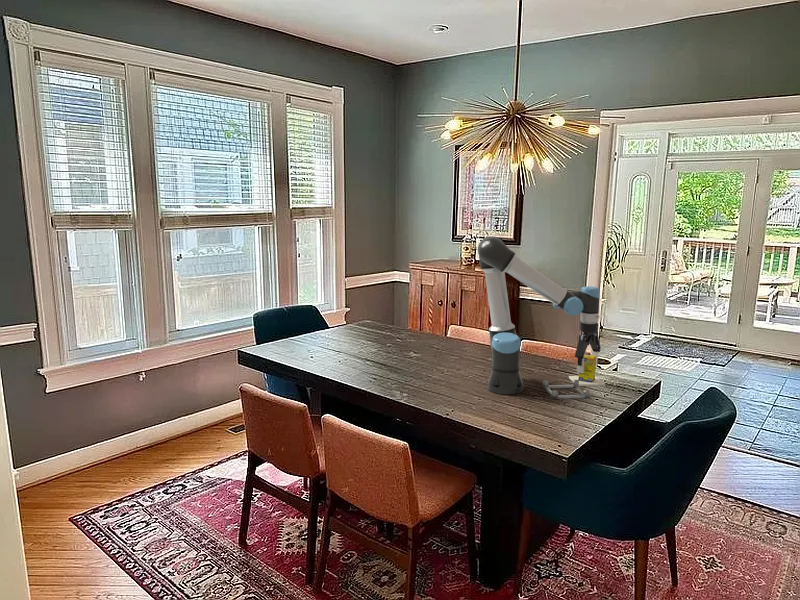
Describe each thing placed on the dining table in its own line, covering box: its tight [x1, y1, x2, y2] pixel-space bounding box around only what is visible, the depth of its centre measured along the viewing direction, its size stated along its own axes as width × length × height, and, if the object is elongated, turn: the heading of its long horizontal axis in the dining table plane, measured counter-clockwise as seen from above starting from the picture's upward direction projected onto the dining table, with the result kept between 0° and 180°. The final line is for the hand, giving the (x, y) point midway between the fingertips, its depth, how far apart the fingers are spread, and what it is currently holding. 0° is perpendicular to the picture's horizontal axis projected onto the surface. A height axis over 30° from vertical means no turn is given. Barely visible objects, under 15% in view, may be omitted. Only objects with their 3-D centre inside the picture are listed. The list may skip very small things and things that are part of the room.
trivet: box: [568, 375, 606, 387], centre depth 243 cm, size 12×12×1 cm
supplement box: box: [578, 353, 597, 382], centre depth 242 cm, size 6×6×11 cm
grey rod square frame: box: [542, 379, 591, 400], centre depth 229 cm, size 15×15×3 cm
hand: (587, 369), depth 242 cm, fingers open, 13 cm apart
